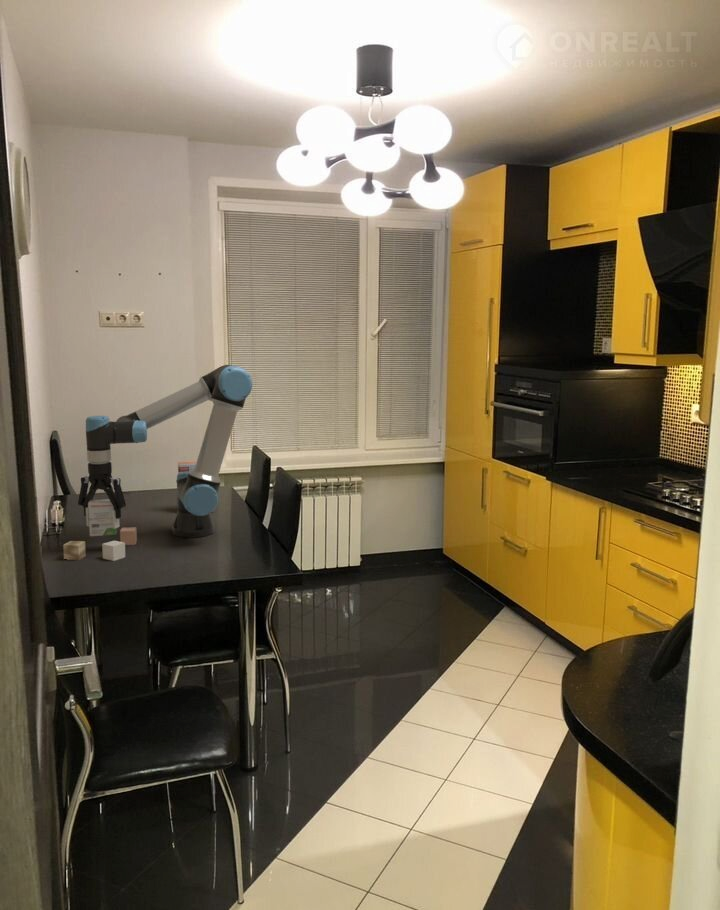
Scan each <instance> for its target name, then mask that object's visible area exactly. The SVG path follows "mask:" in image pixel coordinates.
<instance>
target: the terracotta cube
mask: <svg viewBox="0 0 720 910" xmlns="http://www.w3.org/2000/svg"><path fill="white" fill-rule="evenodd" d="M137 530H138V529H137V527H134V526H133V527H121V529H120V530H119V537H120V538H119V539H120V541H119V542H124V543H125V546H128V545H129V546H131V545H133V546H134V545H135V546H136V544H137V540H138V536H137Z"/></svg>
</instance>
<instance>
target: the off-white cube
mask: <svg viewBox="0 0 720 910" xmlns="http://www.w3.org/2000/svg"><path fill="white" fill-rule="evenodd" d="M101 545H102V559H104V560H108V561H113V562H115V561H118V560H121V559H124V558H126V545H125V543H124V542H120V541H118V540H112V541H111V540H110V541H108V542H104V543H102V544H101Z"/></svg>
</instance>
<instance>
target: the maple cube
mask: <svg viewBox="0 0 720 910" xmlns="http://www.w3.org/2000/svg"><path fill="white" fill-rule="evenodd" d="M62 547H63V560H64V559H67V560H66V561H81V560H82V559H83V558H84V557H86V556H87V554H86V541H84V540H83V541H82V540H70V541H68V542H66V543H64V544H63V546H62Z"/></svg>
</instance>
